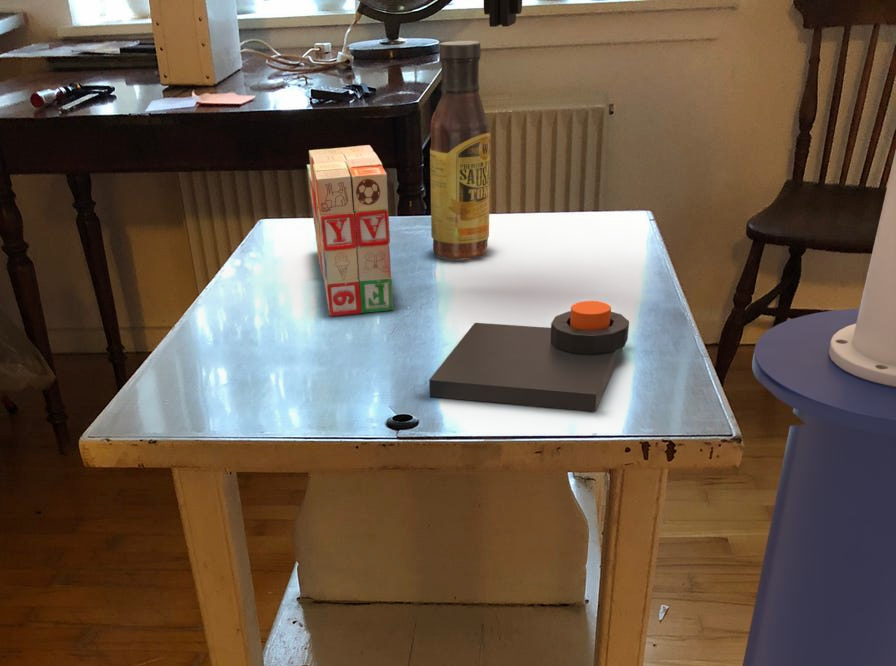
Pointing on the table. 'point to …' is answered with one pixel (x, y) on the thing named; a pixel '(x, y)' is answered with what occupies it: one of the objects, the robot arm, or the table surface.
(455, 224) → the sauce bottle
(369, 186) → the stack of blocks
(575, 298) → the table surface
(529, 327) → the scale
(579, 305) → the button
